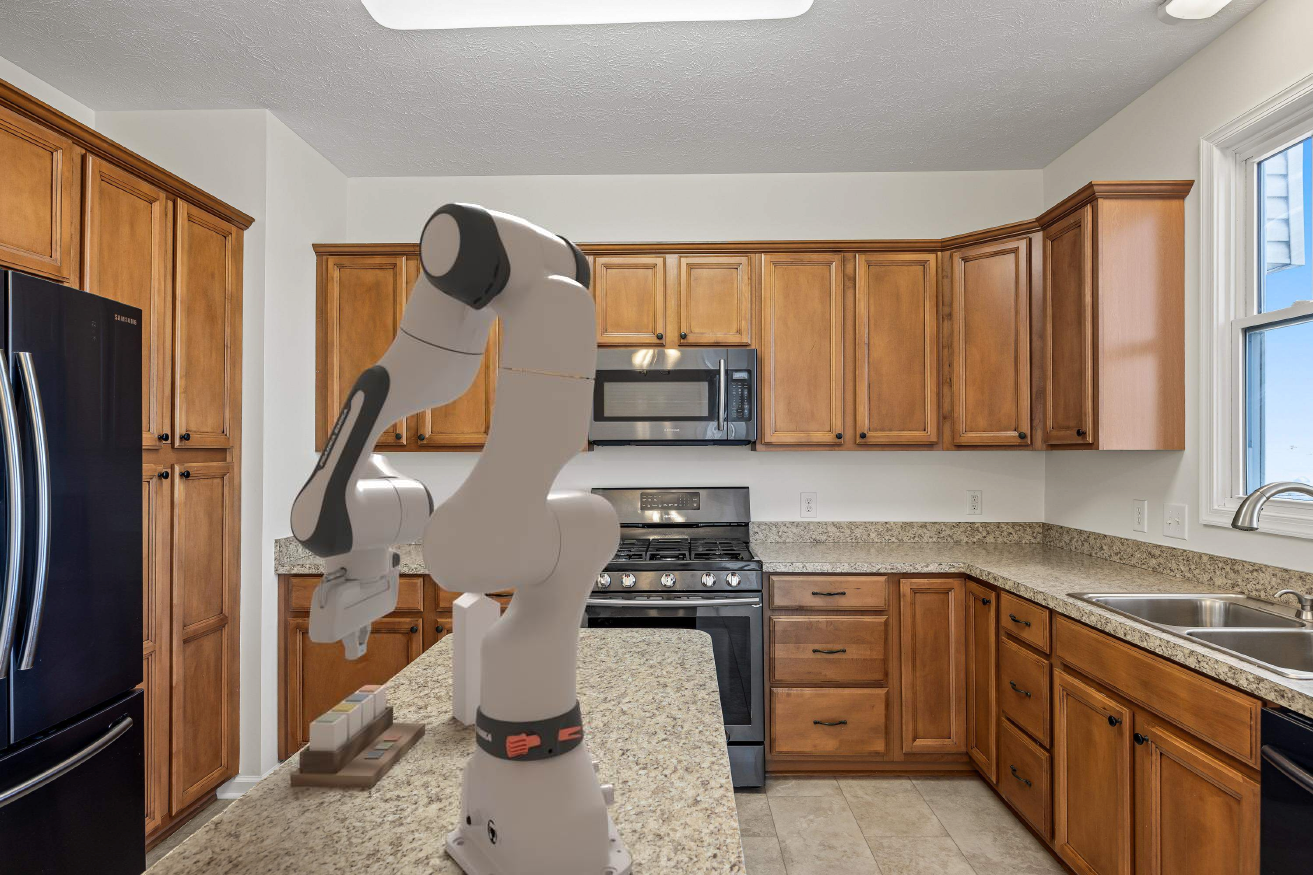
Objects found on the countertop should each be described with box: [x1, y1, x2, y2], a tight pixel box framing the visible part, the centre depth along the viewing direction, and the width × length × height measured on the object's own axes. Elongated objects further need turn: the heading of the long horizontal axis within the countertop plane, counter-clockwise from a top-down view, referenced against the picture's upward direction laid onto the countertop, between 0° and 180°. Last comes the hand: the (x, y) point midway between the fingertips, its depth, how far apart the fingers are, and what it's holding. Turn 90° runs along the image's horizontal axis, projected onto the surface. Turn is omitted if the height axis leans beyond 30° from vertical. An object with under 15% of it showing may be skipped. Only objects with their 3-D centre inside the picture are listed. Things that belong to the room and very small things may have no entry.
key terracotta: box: [353, 684, 387, 719], centre depth 106 cm, size 3×3×4 cm
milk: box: [451, 592, 501, 727], centre depth 116 cm, size 6×6×22 cm
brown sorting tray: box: [289, 705, 426, 789], centre depth 100 cm, size 18×11×4 cm, turn 177°
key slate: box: [340, 693, 374, 730], centre depth 102 cm, size 3×3×4 cm
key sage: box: [308, 713, 347, 751], centre depth 94 cm, size 3×3×4 cm
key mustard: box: [325, 702, 361, 741], centre depth 98 cm, size 3×3×4 cm
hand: (355, 656), depth 103 cm, fingers closed
